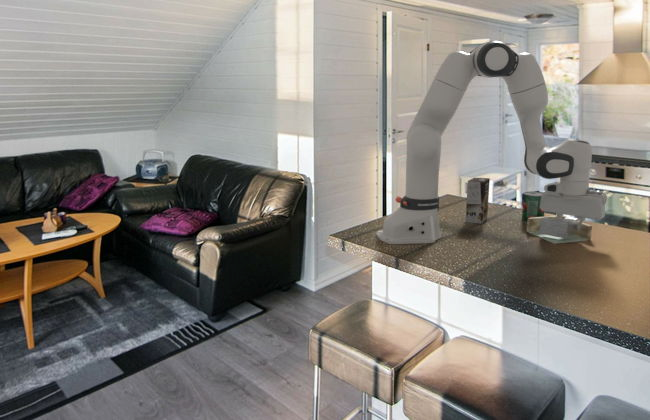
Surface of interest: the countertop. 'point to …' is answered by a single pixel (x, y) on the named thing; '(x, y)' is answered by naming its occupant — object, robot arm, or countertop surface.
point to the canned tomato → (531, 205)
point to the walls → (534, 222)
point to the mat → (558, 238)
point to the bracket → (558, 227)
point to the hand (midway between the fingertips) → (569, 227)
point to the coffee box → (477, 200)
